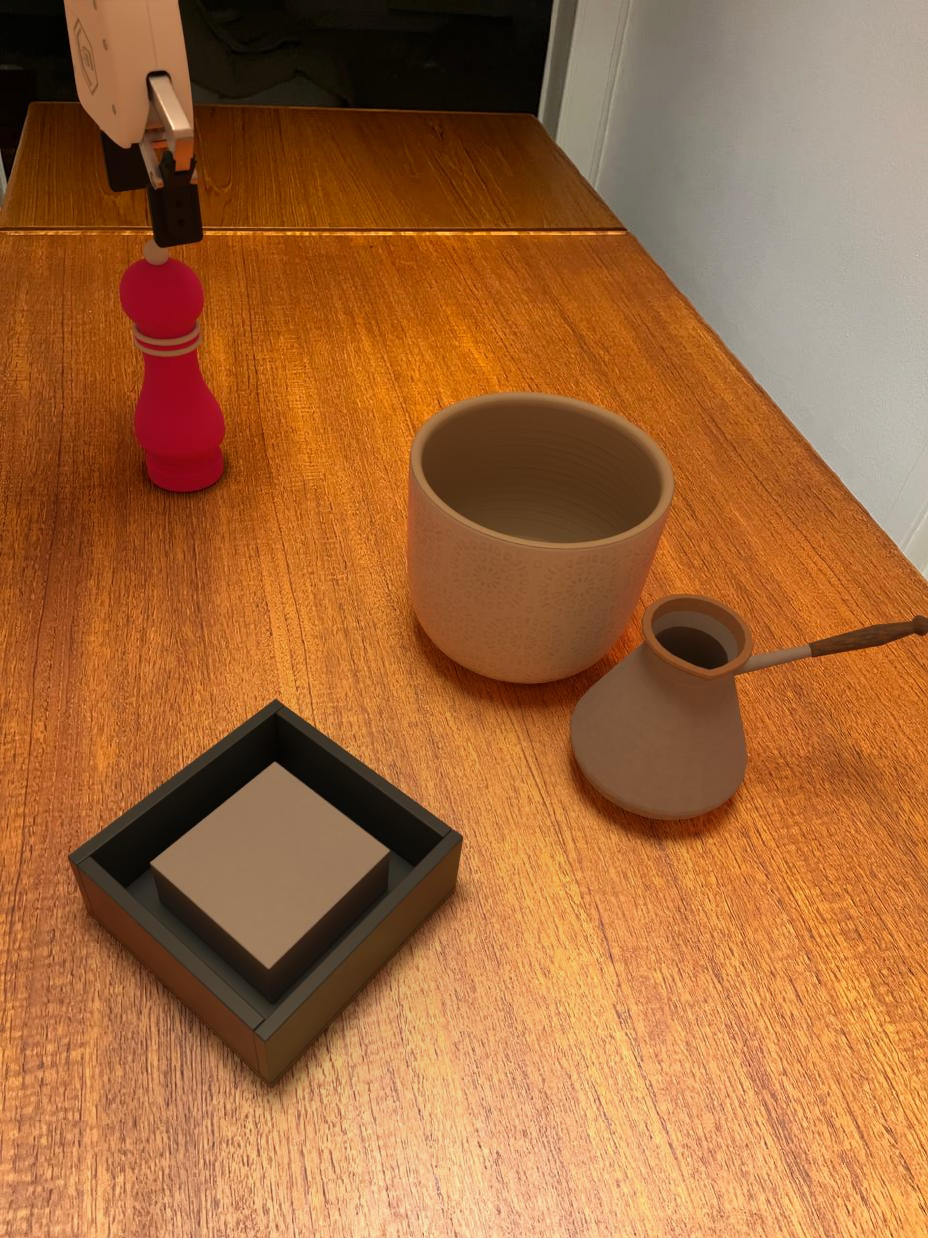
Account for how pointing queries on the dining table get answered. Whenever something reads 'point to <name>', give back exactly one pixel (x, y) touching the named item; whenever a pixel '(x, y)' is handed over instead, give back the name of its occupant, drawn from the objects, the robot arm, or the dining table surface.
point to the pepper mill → (172, 373)
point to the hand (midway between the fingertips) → (155, 214)
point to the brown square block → (272, 879)
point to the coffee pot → (685, 707)
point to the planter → (531, 531)
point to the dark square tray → (192, 969)
